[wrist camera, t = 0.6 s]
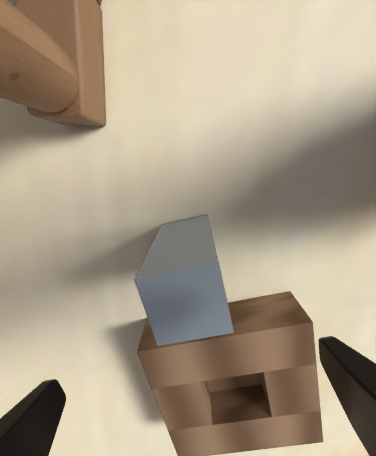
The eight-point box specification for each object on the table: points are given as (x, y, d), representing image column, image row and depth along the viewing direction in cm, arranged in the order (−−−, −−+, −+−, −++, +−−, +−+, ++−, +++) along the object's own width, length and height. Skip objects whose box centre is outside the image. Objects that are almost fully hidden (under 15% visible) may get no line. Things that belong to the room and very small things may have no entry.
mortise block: (290, 291, 20) (312, 322, 16) (303, 397, 24) (323, 442, 20) (147, 318, 22) (137, 351, 18) (181, 414, 26) (179, 459, 22)
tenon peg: (207, 214, 18) (218, 262, 10) (216, 256, 20) (234, 332, 11) (161, 224, 19) (133, 279, 10) (173, 265, 20) (157, 346, 11)
